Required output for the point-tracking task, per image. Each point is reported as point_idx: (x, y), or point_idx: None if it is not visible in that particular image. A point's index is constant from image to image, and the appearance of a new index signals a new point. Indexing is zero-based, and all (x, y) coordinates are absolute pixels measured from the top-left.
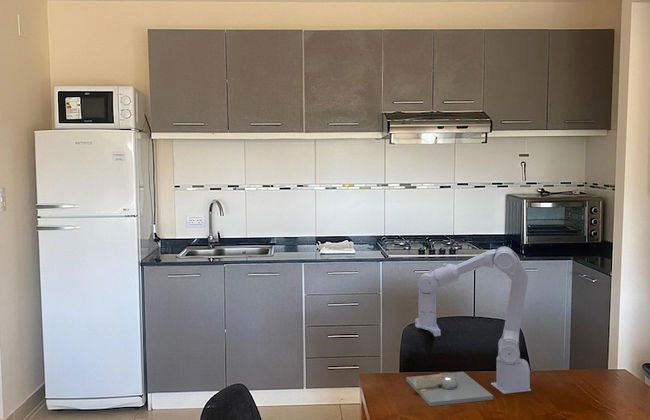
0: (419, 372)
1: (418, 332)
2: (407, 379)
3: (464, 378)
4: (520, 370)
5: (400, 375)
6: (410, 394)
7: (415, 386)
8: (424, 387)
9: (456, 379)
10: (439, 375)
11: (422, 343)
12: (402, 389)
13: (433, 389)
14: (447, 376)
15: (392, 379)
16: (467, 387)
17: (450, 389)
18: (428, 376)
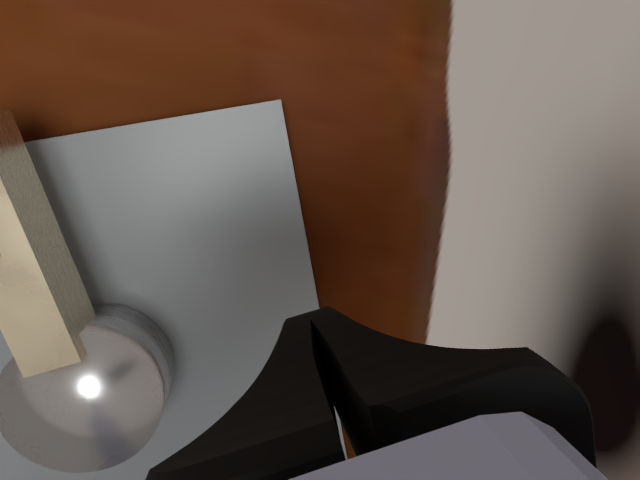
0: (428, 224)
1: (451, 372)
2: (250, 104)
3: None
4: None
5: (392, 82)
6: (24, 85)
7: (82, 136)
8: (65, 202)
9: (35, 455)
10: (42, 349)
11: (341, 335)
12: (123, 41)
13: None
14: (73, 403)
15: (322, 2)
16: (84, 475)
17: None
18: (5, 253)
